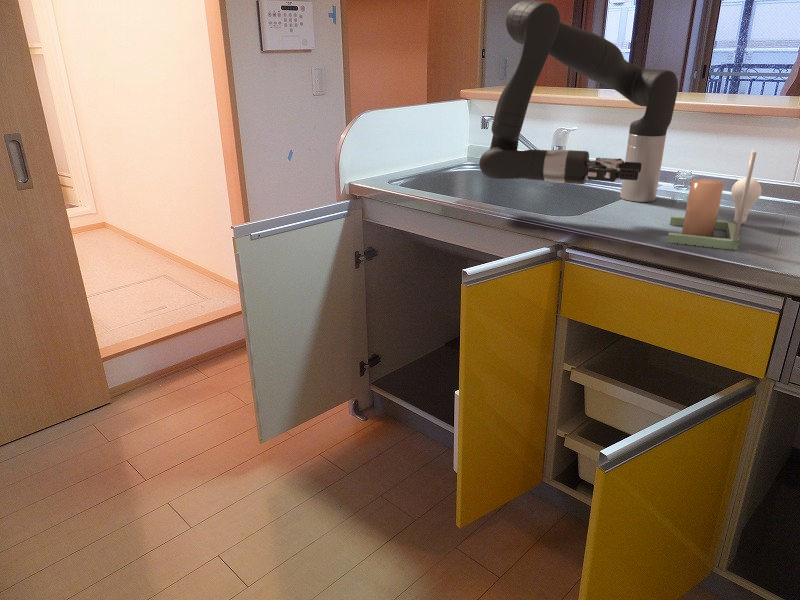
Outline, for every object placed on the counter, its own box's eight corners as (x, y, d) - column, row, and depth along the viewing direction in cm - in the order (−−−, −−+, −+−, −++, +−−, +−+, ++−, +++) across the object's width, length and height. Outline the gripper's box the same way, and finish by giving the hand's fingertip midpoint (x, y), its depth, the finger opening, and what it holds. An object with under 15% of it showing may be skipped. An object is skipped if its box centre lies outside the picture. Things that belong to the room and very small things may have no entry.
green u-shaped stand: (670, 223, 149) (684, 137, 141) (733, 229, 144) (752, 141, 136) (667, 242, 134) (683, 148, 127) (737, 250, 129) (758, 153, 122)
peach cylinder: (681, 230, 143) (691, 177, 138) (712, 233, 141) (723, 180, 136) (681, 237, 138) (691, 183, 133) (713, 241, 135) (724, 186, 131)
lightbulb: (728, 219, 152) (737, 174, 147) (756, 223, 148) (766, 177, 144) (721, 224, 147) (731, 178, 143) (750, 229, 144) (761, 181, 139)
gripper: (561, 155, 138) (639, 160, 132) (572, 145, 150) (644, 149, 144) (559, 189, 141) (635, 195, 135) (569, 176, 153) (639, 181, 147)
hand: (639, 171), depth 139 cm, fingers open, 8 cm apart
